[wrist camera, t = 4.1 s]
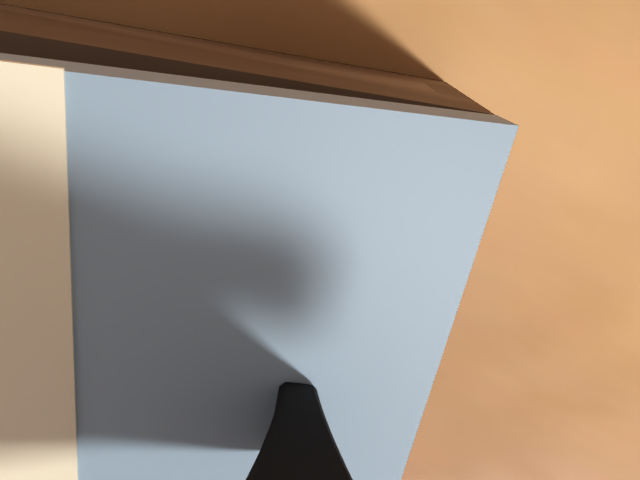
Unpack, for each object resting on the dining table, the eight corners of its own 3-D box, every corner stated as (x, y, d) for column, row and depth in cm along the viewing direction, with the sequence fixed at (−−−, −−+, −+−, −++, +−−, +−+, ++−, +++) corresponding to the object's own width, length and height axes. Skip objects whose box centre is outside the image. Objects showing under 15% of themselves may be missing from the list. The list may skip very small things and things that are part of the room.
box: (346, 454, 20) (357, 556, 17) (18, 423, 19) (-48, 526, 15) (444, 81, 14) (494, 114, 11) (-23, 0, 13) (-144, 5, 9)
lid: (357, 559, 17) (367, 588, 16) (-100, 632, 13) (-117, 675, 12) (496, 112, 11) (522, 124, 10) (-277, 13, 7) (-331, 21, 6)
